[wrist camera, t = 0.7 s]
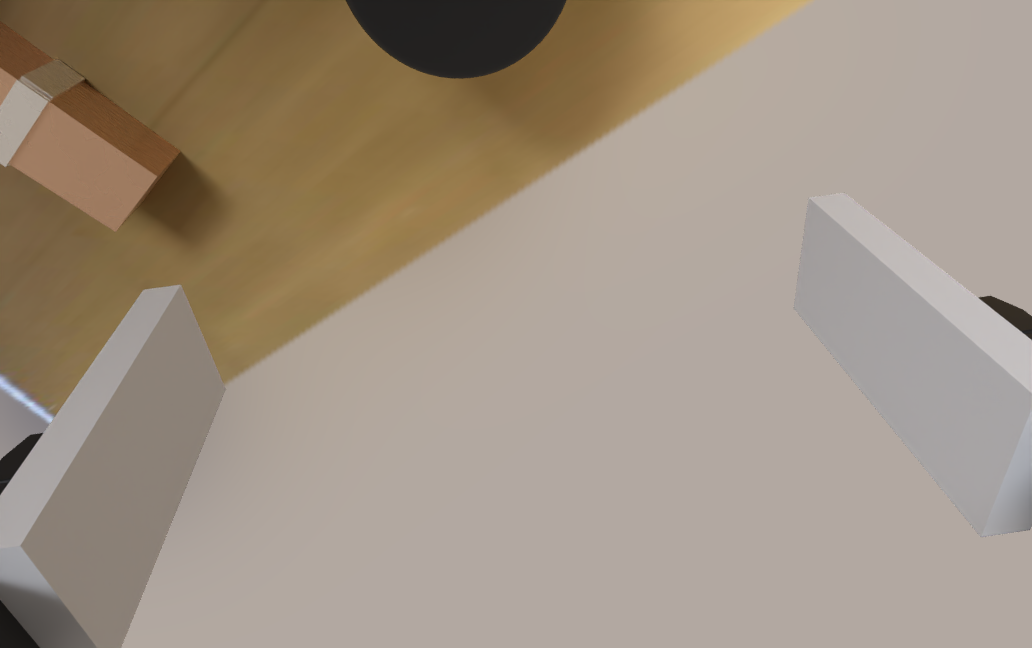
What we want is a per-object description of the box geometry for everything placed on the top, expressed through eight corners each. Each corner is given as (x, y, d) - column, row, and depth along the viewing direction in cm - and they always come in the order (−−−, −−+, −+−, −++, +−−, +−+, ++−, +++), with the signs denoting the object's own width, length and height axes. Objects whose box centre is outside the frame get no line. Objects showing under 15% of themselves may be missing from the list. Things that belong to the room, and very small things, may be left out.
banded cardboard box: (-94, 47, 34) (-155, 68, 30) (-54, -26, 32) (-114, -14, 29) (140, 203, 39) (111, 236, 36) (184, 146, 38) (158, 175, 34)
